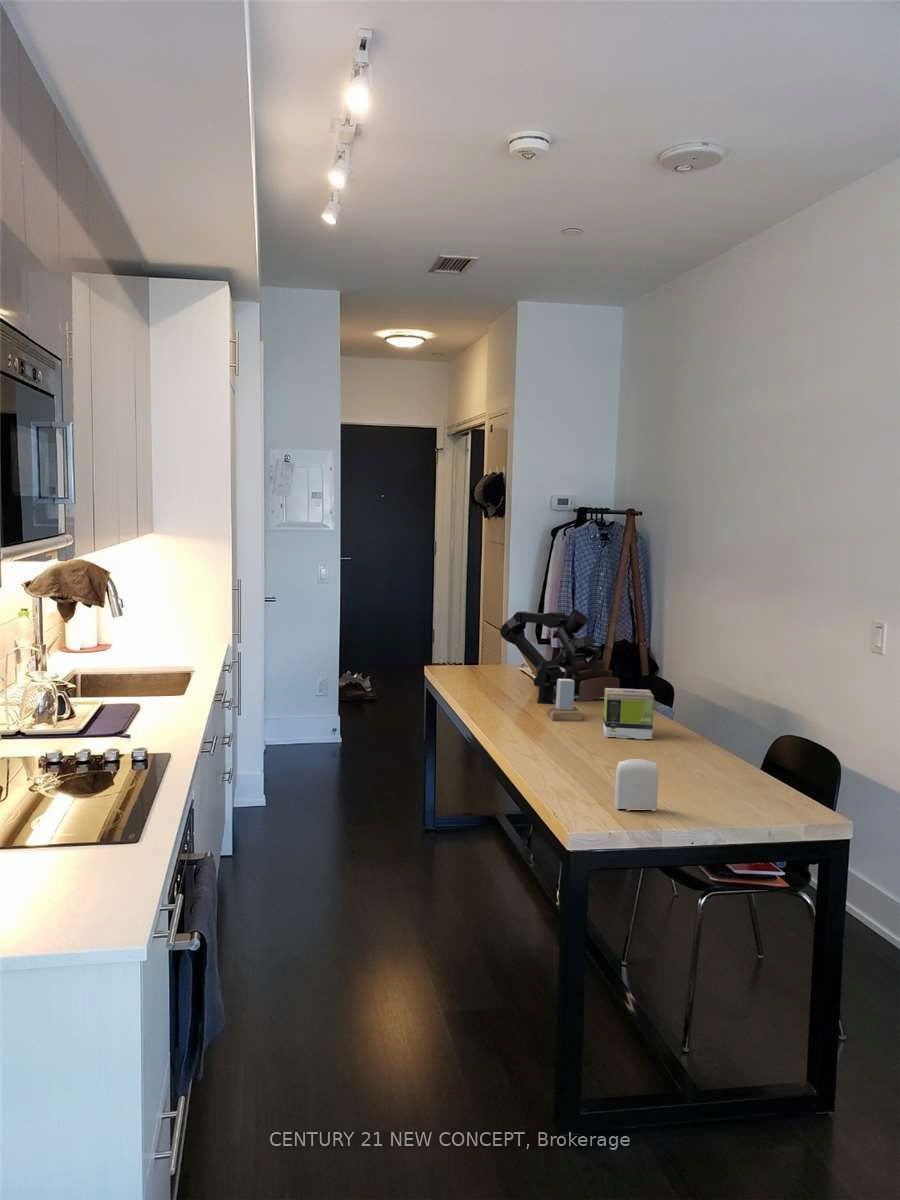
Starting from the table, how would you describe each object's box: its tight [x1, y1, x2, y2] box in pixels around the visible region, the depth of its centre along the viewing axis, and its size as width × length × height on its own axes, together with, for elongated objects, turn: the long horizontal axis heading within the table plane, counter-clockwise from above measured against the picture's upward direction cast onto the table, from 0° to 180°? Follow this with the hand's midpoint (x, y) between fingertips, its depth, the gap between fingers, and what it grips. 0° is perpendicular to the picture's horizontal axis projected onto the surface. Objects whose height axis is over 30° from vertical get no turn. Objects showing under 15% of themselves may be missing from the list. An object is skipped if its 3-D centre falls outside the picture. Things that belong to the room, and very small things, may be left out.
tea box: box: [602, 687, 655, 740], centre depth 287 cm, size 15×10×15 cm, turn 84°
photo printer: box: [614, 758, 660, 810], centre depth 216 cm, size 10×4×12 cm, turn 88°
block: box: [545, 705, 583, 723], centre depth 308 cm, size 10×10×4 cm
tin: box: [555, 678, 575, 710], centre depth 308 cm, size 4×5×10 cm
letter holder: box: [564, 659, 620, 703], centre depth 344 cm, size 10×20×14 cm, turn 121°
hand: (589, 676), depth 314 cm, fingers open, 9 cm apart
